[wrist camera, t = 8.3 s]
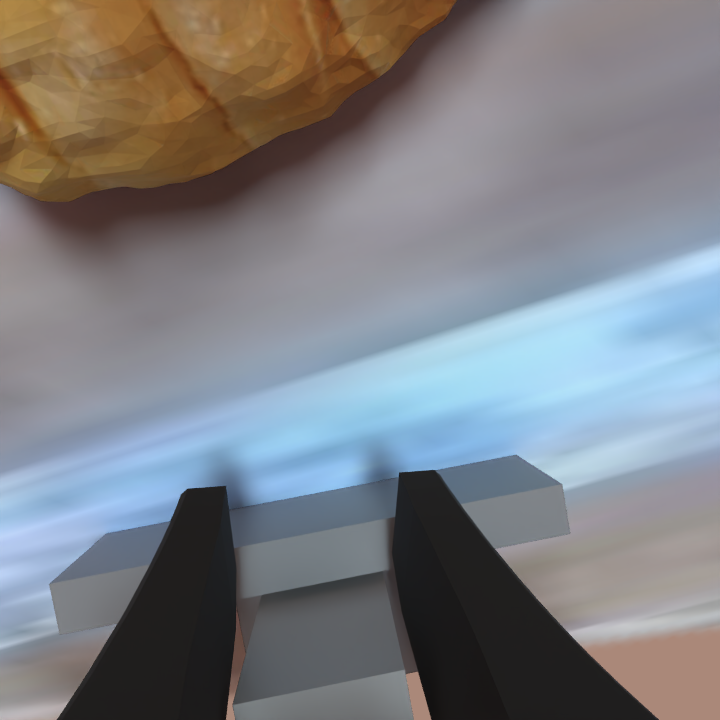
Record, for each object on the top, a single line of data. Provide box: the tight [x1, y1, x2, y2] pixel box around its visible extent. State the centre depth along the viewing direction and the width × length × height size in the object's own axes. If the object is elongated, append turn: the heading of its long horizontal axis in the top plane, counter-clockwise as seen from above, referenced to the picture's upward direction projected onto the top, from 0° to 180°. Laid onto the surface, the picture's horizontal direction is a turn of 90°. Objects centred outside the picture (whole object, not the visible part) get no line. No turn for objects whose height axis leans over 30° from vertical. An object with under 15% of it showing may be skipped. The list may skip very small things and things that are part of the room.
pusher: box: [49, 455, 570, 720], centre depth 12 cm, size 10×4×6 cm
